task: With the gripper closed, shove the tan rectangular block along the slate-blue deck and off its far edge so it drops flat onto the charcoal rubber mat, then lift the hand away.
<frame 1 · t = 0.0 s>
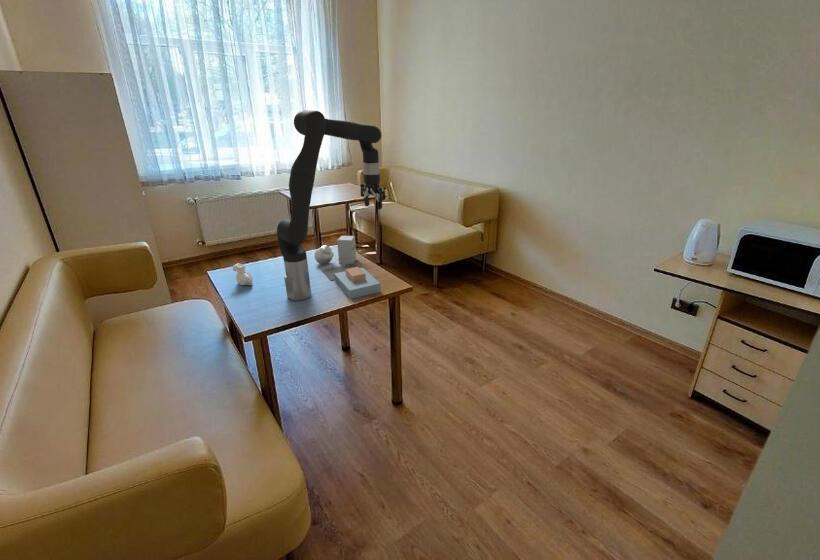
hand: (373, 207, 194), 29 cm above the table, fingers open, 8 cm apart
deck: (357, 286, 184), on the table
supplement box: (348, 261, 211), on the table
mat: (343, 272, 199), on the table
tan rectangular block: (355, 277, 183), point 4 cm above the table, touching deck
duck figurine: (245, 284, 188), on the table
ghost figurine: (325, 264, 208), on the table
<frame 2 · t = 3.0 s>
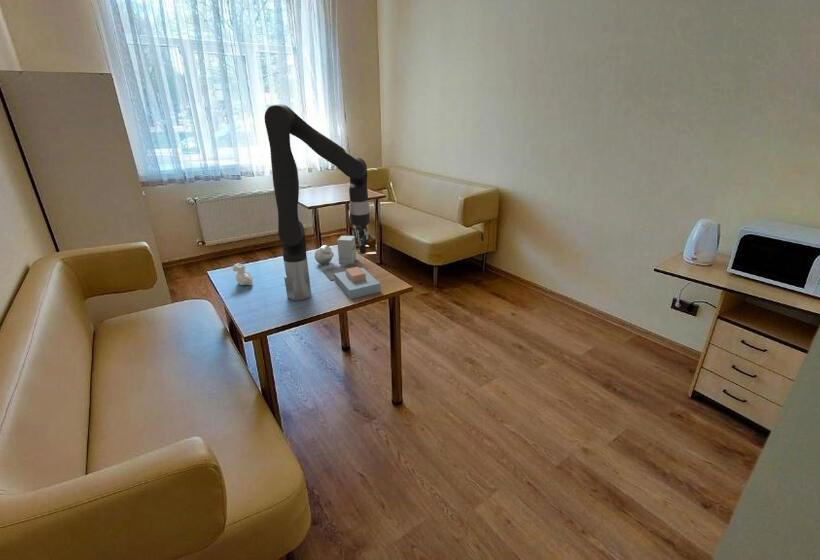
hand: (362, 253, 168), 19 cm above the table, fingers closed
nothing on the table moved.
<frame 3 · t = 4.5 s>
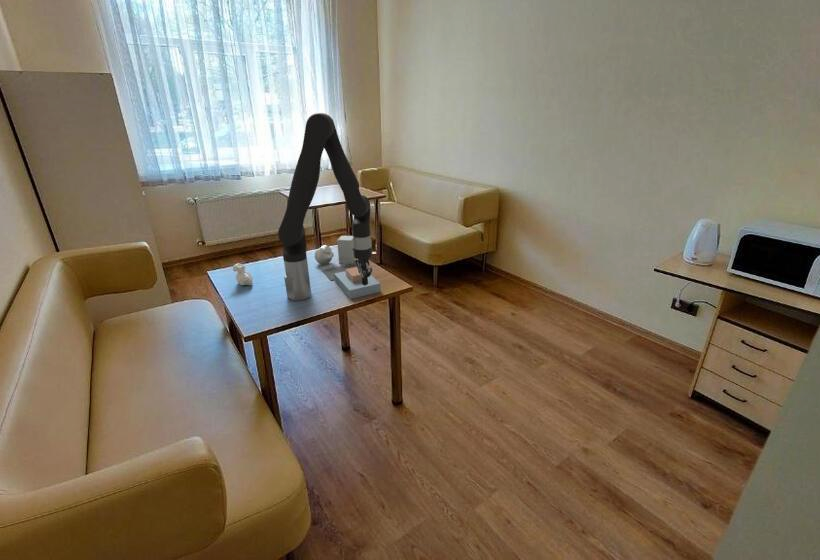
hand: (364, 284, 174), 5 cm above the table, fingers closed
nothing on the table moved.
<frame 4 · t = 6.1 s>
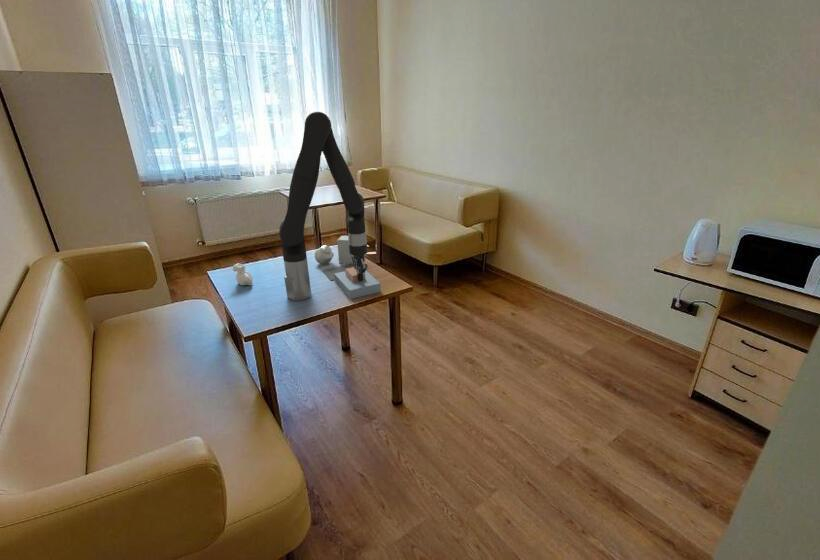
hand: (360, 280, 178), 5 cm above the table, fingers closed
tan rectangular block: (355, 277, 183), point 4 cm above the table, touching gripper
everything else where it was.
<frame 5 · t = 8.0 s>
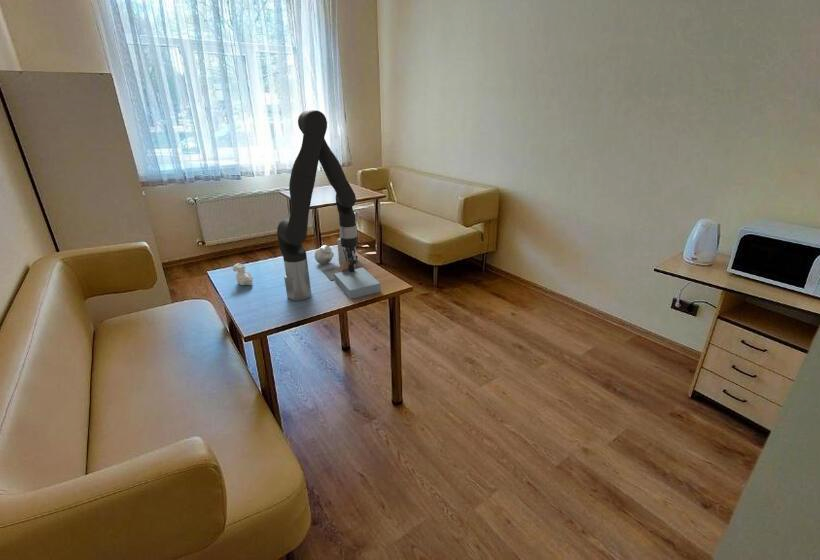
hand: (351, 271, 186), 5 cm above the table, fingers closed
tan rectangular block: (347, 271, 191), point 4 cm above the table, tilted 46°, touching gripper
everything else where it was.
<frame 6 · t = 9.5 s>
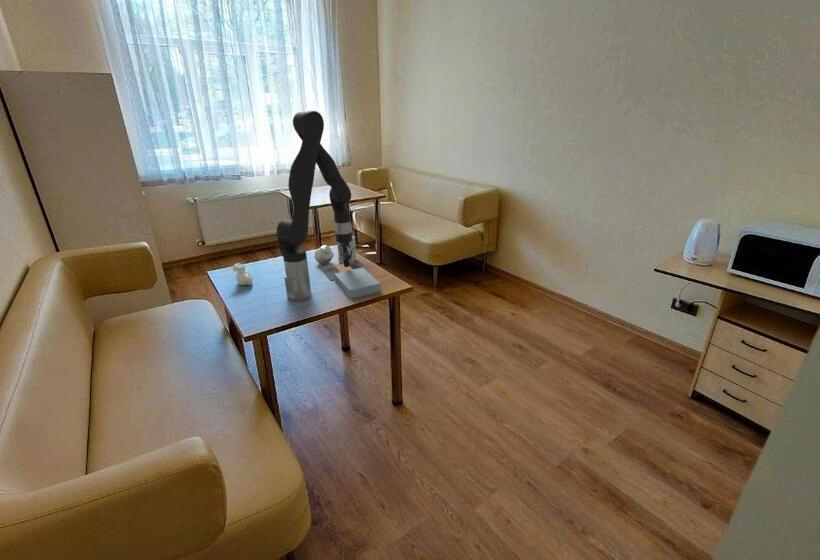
hand: (346, 266, 192), 5 cm above the table, fingers closed
tan rectangular block: (344, 273, 196), resting on mat
everything else where it was.
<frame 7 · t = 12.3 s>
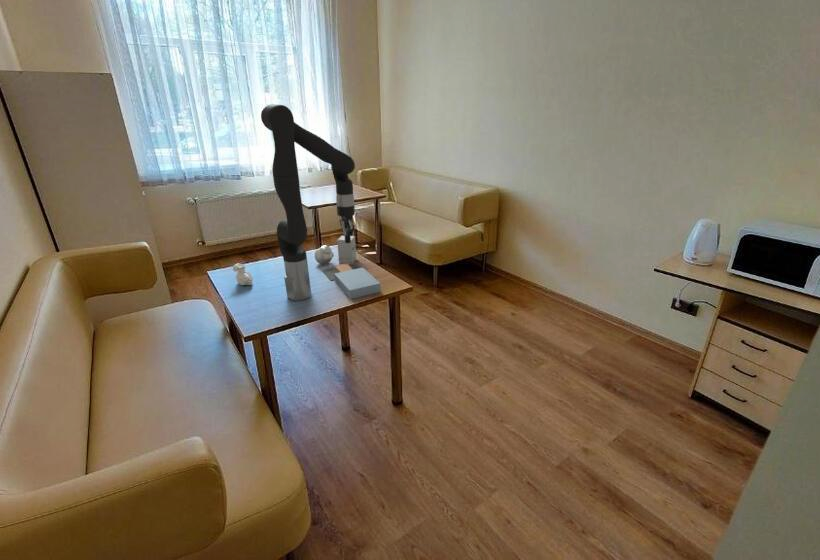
hand: (347, 242, 182), 18 cm above the table, fingers closed
nothing on the table moved.
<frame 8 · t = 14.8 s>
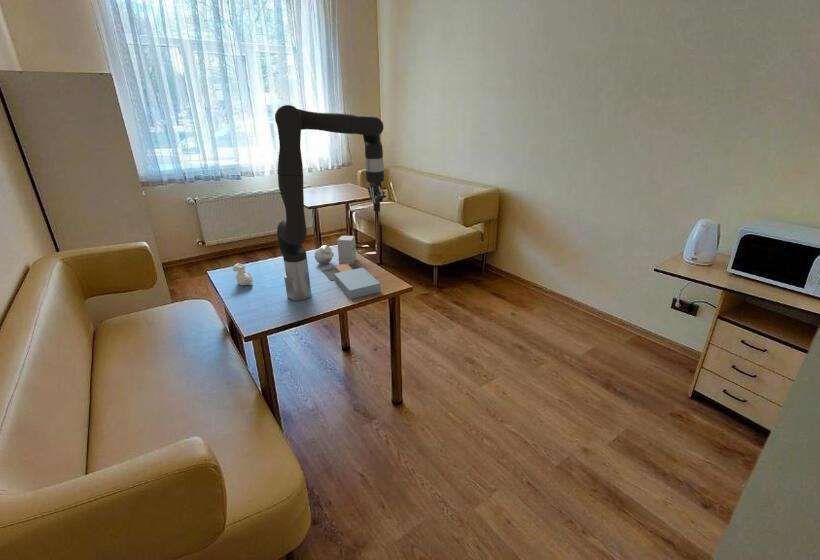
hand: (376, 211, 174), 33 cm above the table, fingers closed
nothing on the table moved.
at the end: tan rectangular block 2.6 cm from the mat (horizontally); tan rectangular block resting on mat; tan rectangular block touching mat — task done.
